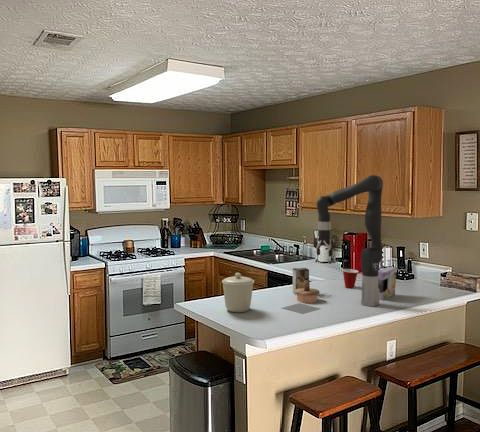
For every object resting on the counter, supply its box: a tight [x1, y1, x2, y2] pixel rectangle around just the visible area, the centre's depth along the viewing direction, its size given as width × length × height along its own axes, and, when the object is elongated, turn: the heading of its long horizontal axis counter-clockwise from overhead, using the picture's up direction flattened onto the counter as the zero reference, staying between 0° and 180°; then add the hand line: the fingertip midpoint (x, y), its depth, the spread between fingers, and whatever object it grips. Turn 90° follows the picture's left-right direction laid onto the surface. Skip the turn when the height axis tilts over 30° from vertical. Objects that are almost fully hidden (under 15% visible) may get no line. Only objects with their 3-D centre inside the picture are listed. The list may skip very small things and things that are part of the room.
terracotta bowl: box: [296, 294, 318, 304], centre depth 297 cm, size 11×11×5 cm
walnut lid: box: [293, 280, 320, 296], centre depth 297 cm, size 15×15×7 cm
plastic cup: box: [341, 268, 359, 289], centre depth 332 cm, size 11×11×12 cm
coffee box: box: [292, 267, 310, 295], centre depth 315 cm, size 9×6×16 cm
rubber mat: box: [281, 302, 321, 315], centre depth 279 cm, size 16×16×1 cm
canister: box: [221, 272, 255, 313], centre depth 275 cm, size 18×18×21 cm
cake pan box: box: [378, 266, 397, 301], centre depth 306 cm, size 19×5×18 cm, turn 136°
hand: (324, 255), depth 301 cm, fingers open, 8 cm apart
